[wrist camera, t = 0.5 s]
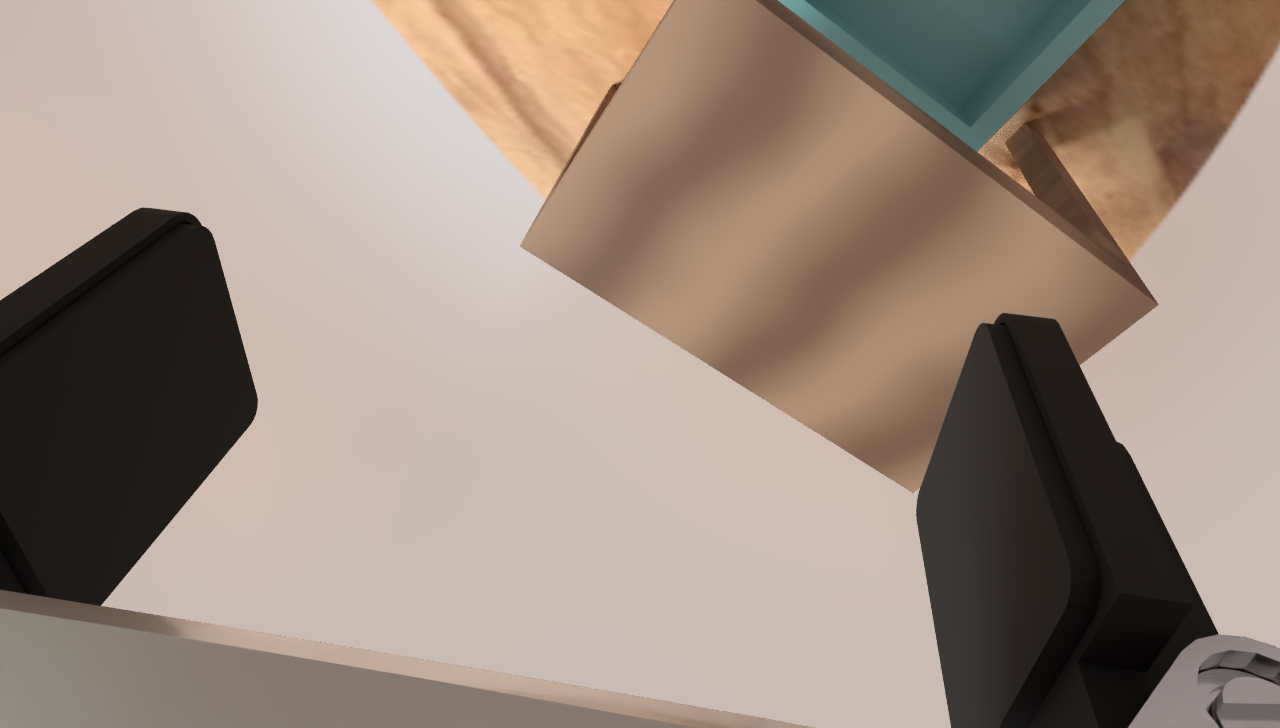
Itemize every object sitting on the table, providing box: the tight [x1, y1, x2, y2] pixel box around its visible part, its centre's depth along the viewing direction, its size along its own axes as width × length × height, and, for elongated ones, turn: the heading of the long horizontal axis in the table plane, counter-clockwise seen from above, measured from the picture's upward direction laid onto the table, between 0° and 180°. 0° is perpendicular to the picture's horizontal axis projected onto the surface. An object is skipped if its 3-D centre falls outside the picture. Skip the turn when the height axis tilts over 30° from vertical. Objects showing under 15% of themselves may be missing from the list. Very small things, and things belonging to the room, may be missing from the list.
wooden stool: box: [520, 0, 1158, 493], centre depth 34 cm, size 18×11×15 cm, turn 57°
